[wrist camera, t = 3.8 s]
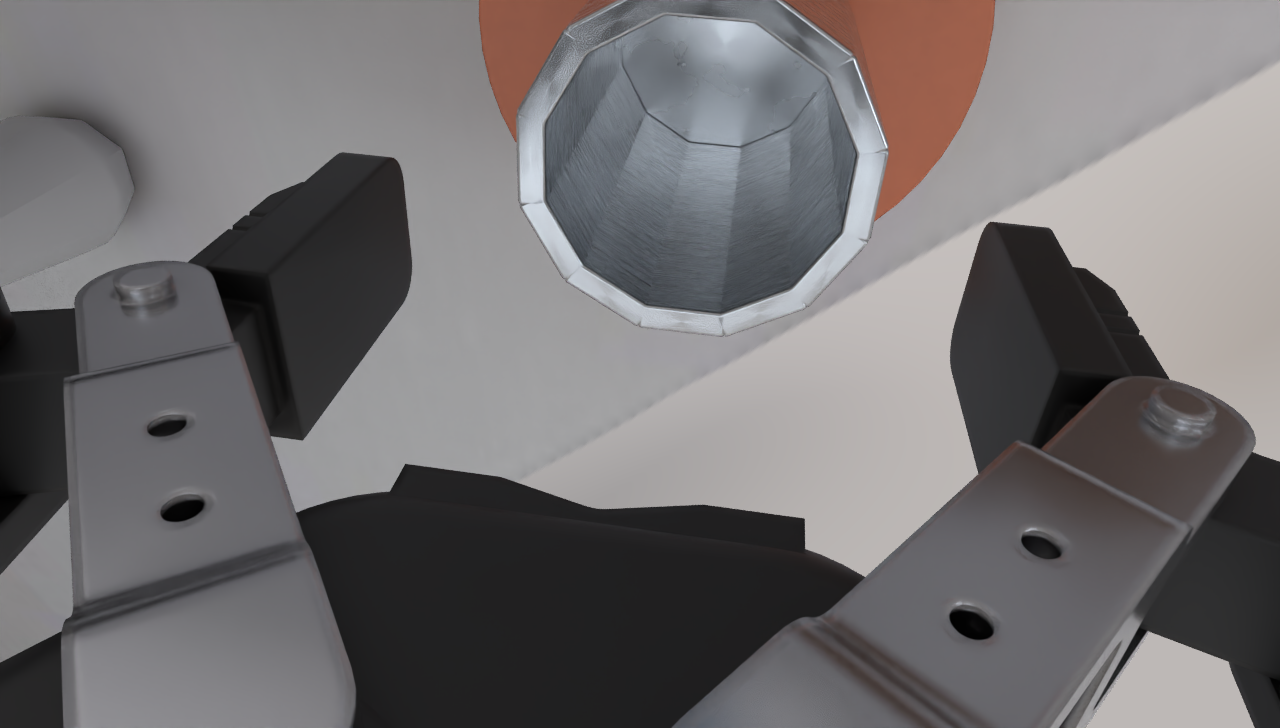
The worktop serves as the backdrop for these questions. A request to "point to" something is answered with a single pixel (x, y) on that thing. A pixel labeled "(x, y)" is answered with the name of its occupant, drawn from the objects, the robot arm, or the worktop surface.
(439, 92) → the worktop surface
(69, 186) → the salt shaker
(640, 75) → the steel cup
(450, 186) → the worktop surface
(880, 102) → the terracotta flower pot
